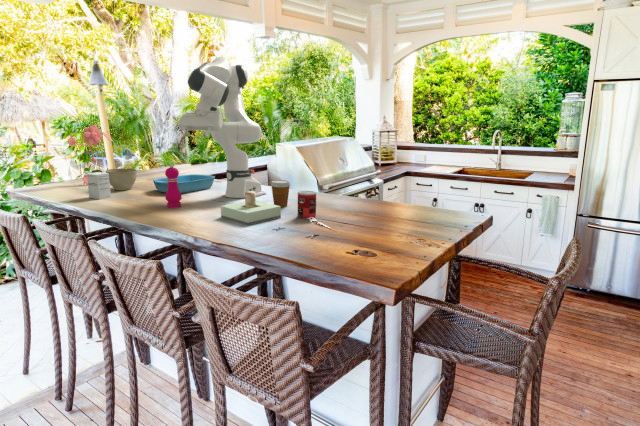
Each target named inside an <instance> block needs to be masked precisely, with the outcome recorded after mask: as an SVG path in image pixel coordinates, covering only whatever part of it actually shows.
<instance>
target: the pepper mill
mask: <svg viewBox="0 0 640 426" xmlns="http://www.w3.org/2000/svg"><path fill="white" fill-rule="evenodd" d="M164 175H165V177H167V181H168V190H167V192H166V193H165V197H164V198H165V200H166V201H167V203H166V206H167V208H169V209H170V208H171V209H172V208H173V209H175V208H177V209H178V208H180V207H181V206H182V203H181V200H182V193H180V191H179V189H178V186H177V181H178V178H177V177H178V176H180V172H179V170H178V168H176V167H175V166H174V164H172V163H171V164H169V167H168V168H166V170H165V172H164Z"/></svg>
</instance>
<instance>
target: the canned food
mask: <svg viewBox="0 0 640 426" xmlns="http://www.w3.org/2000/svg"><path fill="white" fill-rule="evenodd" d="M316 215H317V191H314V190H300V191H298V192H297V217H298V218H299V217H300V218H299V219H302V218H310V217H311V218H313V217H315V218H316ZM313 219H314V218H313Z"/></svg>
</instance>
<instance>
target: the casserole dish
mask: <svg viewBox="0 0 640 426" xmlns="http://www.w3.org/2000/svg"><path fill="white" fill-rule="evenodd" d="M177 178H178V181H177V186H178V189H179V191H180V193H181V194H185V193H191V192H198V191H202V190H208V189H210V188H212V186H213V185H214V181H215V178H216V176H215V175H210V174H199V173H198V174H196V173H195V174H193V173H192V174H191V173H190V174H181V175H178V177H177ZM152 182H153V184H154V187H155V189H156V190H157V191H159V192H161V193H165V194H166V192H167V190H168V181H167V176H165V177H159V178H154V179H152ZM207 188H208V189H207Z"/></svg>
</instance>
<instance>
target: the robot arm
mask: <svg viewBox="0 0 640 426" xmlns="http://www.w3.org/2000/svg"><path fill="white" fill-rule="evenodd" d="M248 76H249V75H248V71H247V69H246V68H245V67H244V65H241V64H235V65H231V62H230V61H229V59H228V58H226V57H223V56H218V57H216V58H214V59H213V60H212V61H211V62H203V63H202V64H200V66H199V67H197V68H195V69H193V70H192V71H191V73H190V74H189V75H188V77H187V85H188V87H189V89H190V90H191V91H194V92H196V93H199V94H200V97H199V101H198V103H197V104H196V106H195V109H194V110H193V112H186V113H184V114H182V115H181V117H179V120H178V122H177V126H178V128H179V129H180V130H181V131H183V136H184V138H185V137H189V136H190V133H189V131H203V135H202V136H203V137H204V138H208V136H209V135H211V137H212V139H213V140H214V141H215V142H216V143H217V144H219V145H220V147H221V148H222V149H223V152H224V153H225V159H226V189H225V194H224V197H227V198H230V199H231V198H233V199H235V198H236V199H243V198H244V199H245V192H248V191H253V192H255V196H256V197H259V196H264V195H266V191H264V190H262V183H260V181H258V180H257V179H256V178H254V177H253V176H252V174H253V175H254V174H255V170H254V169H249V156H248V154H247V152H246V151H244V150H242V149H240V148H238V147H237V144H252V143H256V142H259V141H260V139H261V138H262V135H263V130H262V128H261V126H260V124H259V123H257V122H255V121H254V120H252V118H251V119H250V117H249V116H248V115H247V113H246V109H245V108H246V107H245V101H244V97H243V94H242V92H241V89H242V90H243V89H245V86H246V85H247V84H248ZM222 105H223V112H224V113H222V110H221V109H220V108H219V107H220V106H222ZM223 114H224V115H223ZM224 117H225V119H226V121H224Z"/></svg>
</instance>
